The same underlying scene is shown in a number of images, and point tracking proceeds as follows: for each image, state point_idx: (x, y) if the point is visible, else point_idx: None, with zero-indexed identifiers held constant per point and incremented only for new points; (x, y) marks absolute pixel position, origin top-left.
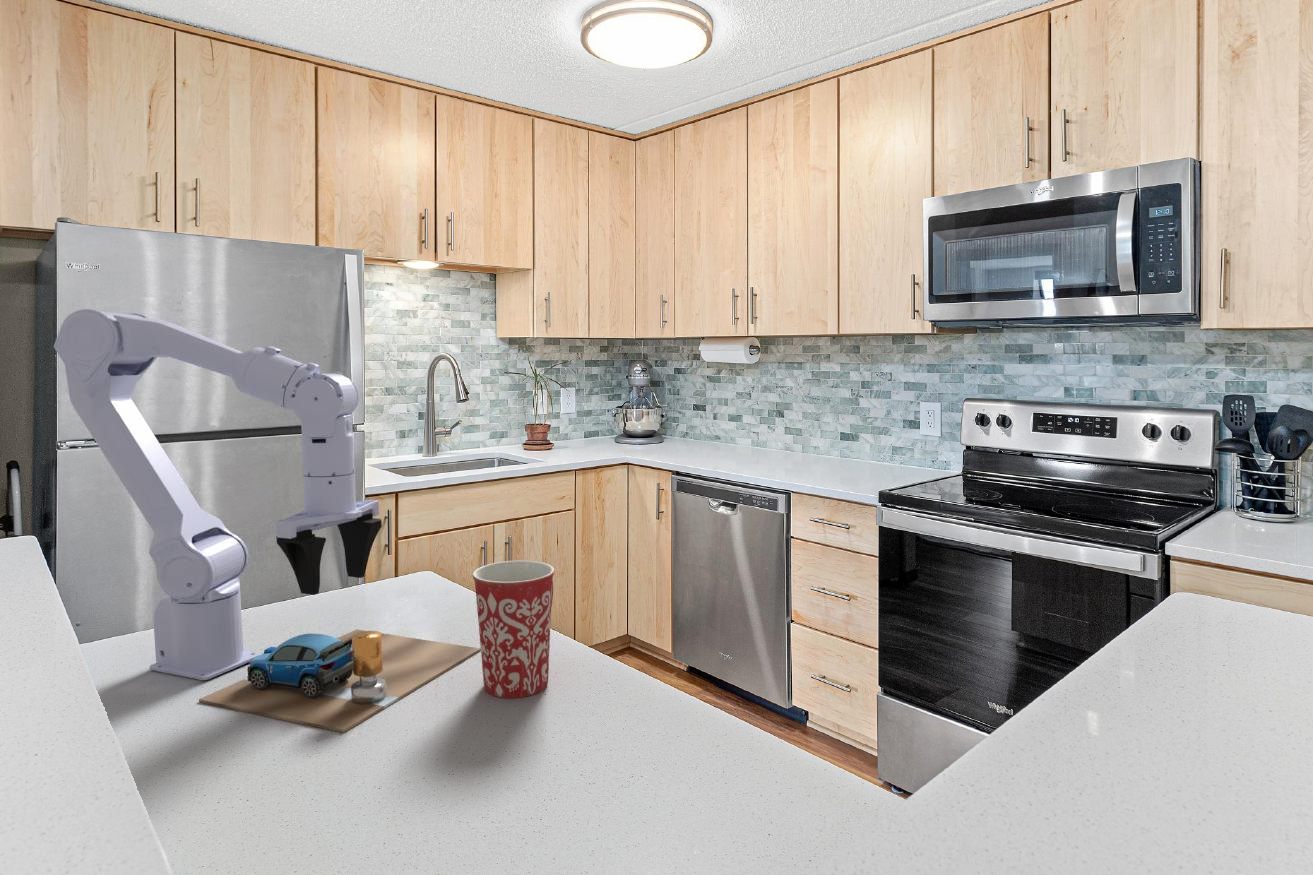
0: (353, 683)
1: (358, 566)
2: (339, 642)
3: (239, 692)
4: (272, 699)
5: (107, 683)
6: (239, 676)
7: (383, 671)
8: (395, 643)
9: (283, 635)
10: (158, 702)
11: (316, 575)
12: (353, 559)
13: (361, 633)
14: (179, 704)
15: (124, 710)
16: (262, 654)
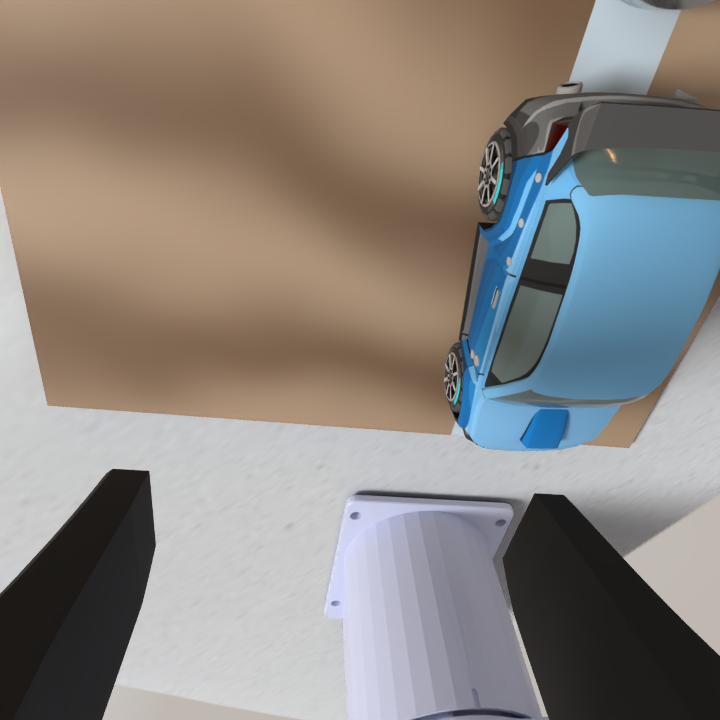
0: (686, 7)
1: (121, 556)
2: (622, 185)
3: None
4: None
5: None
6: (468, 463)
7: (386, 41)
8: (89, 183)
9: (184, 542)
10: (619, 505)
11: (643, 593)
12: (108, 637)
13: None
14: (634, 467)
15: (655, 528)
16: (565, 438)
